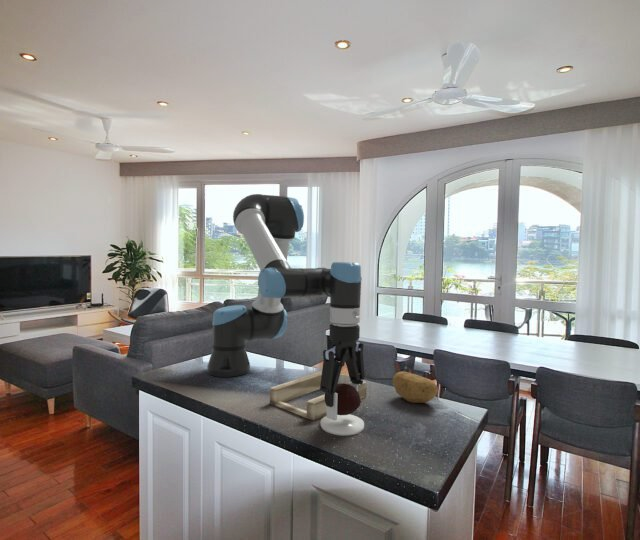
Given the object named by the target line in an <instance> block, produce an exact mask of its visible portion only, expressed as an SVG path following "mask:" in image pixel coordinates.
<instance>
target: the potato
mask: <svg viewBox="0 0 640 540" xmlns="http://www.w3.org/2000/svg"><path fill="white" fill-rule="evenodd" d="M392 377H393V378H392V385H393V387H394V388H395V392H396V393H397V394H398V396H400V397H401V398H403V399H404V400H405V401H407V402H409V403H411V404H413V403H414V404H415V403H417V404H418V403H422V404H423V403H424V404H426V403H428V402H429V401H431V400H433V399H435V397H437V395H438V393H439V387H438V385H437V384H436V383H435V382H434V381H433V380H431V379H429V378H427V377H425V376H421V375H419V374H416V373H412V372H408V371H398V372H397V373H395V374H394V375H393V376H392Z"/></svg>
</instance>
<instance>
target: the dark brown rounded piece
mask: <svg viewBox="0 0 640 540" xmlns="http://www.w3.org/2000/svg"><path fill="white" fill-rule="evenodd" d="M331 388H332V387H331ZM335 393H338V400H337V415H348V414H350V415H352V414H353V413H355V412H356V411H358V410H359V408H360V407H361V403H362V399H360V396H359V393H358V391H357V390H356V389H355V388H354V387H352V386H351V385H349V384H348V383H344V382H343V383H338V384H337V388H336V391H335ZM324 394H325V396H324V397H325V403H326V393H325V392H324ZM357 409H358V410H357Z"/></svg>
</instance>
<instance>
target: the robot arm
mask: <svg viewBox="0 0 640 540" xmlns="http://www.w3.org/2000/svg"><path fill="white" fill-rule="evenodd" d="M232 213H233V215H232V219H233V220H232V221H233V224H234V227H235V229H236V230H237V232H238V233H239V234H240V235H243V238H244V240H245V241H246V244H247V246H248V248H249V251H250V252H251V254H252V256H253V258H254V260H255V262H256V264H257V267H258V268H259V270H260V271H259V273H258V276H257V287H258V292H257V296H256V297H257V298H256V299H255V300H253V302H252V304H251V308H247V307H246V306H245V305H243V304H239V305H238V304H236V305H227V306H224V307H220V308H219V307H218V308H217V309H216V310H215V311H214V312H213V315H212V323H211V324H212V351H211V354H210V357H209V360H208V364H207V367H206V368H207V369H206V371H207V374H208V375H211V376H213V377H219V378H232V377H238V376H240V377H241V376H243V375H247V374H248V373H249V372H250V371H251V363H250V360H249V356H248V353H247V350H246V342H248V341H251V342H252V341H259V340H273V339H277V338H280V337H282V336H283V335H284V334H285V331H286V330H287V325H288V319H287V318H288V313H287V311H286V309H285V308H284V305H283V304H282V302H281V299H284V298H285V299H287V298H304V297H305V298H310V297H312V298H313V297H326V298H327V297H328V298H329V299H330V302H329V303H330V304H329V322H330V323H331V324H330V325H329V335H328V336H329V339H330V340H331V342H332V344H331V348H330V349H328V350H327V349H323V351H322V357H323V362H322V369H321V371H322V376H321V384H320V389H319V391H320V392H323V393H324V394H325V393H326V406H327V415H326V416H327V418H329V419H332V420H337V400H338V393H335V391H336V388H337V384H339V380H340V376H341V372H342V369H343V367H344V366H345V365H346V368H347V372H348V376H349V381H350V382H348V383H347V384H349V385H351V386H352V387H354V388H355V389H356V390H357V391H358V393H359V384H361V385H362V384H363V381H364V380H365V377H366V376H365V365H364V353H363V351H364V345H365V344H364V343H363V342H357V341H359V340H360V334H361V333H360V332H361V330H360V329H361V328H360V325H359V323H360V321H361V317H360V316H361V294H362V292H361V291H362V269H361V264H360V263H359V262H355V261H354V262H351V261H350V262H349V261H333V262H332V263H331V266H330V268H327V267H315V268H311V267H310V268H309V267H308V268H306V267H305V268H303V267H301V268H300V267H298V268H297V267H296V268H295V267H291V265H290V264H289V262H288V253H289V246H290V243H291V241H292V240H294V239H295V237H296V233H299V232H300V231H301V230H302V229H303V227H304V223H305V220H304V219H305V215H304V209H303V205H302V203H301V202H300V200H298V199H297V198H295V197H289V196H285V195H284V196H283V195H270V194H263V193H262V194H261V193H254V194H250V195H247V196H245V197H243V198H242V199H240V201H239V202H238V203H237V204H236V206H235V207H234V210H233V212H232ZM331 387H332V388H331ZM358 410H359V408H358V409H357V410H356V411H358Z"/></svg>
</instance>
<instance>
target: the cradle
mask: <svg viewBox="0 0 640 540" xmlns="http://www.w3.org/2000/svg"><path fill="white" fill-rule="evenodd" d="M321 376H322V370H320V371H317V372H314V373H312V374H309V375H305V376H302V377H300V378H297V379H294V380H290V381H288V382H287V381H286V382H284V383H281V384H278V385H274V386H272V387H269V404H270V405H273V406H275V407H278V408H280V409H283V410H286V411H288V412H291V413H293V414H296V415H297V416H301V417H303V418H305V419H308V420H310V421H313V422H315V421H317V420H319V419H322V418H323V417H325V416H327V406H326V403H325V397H324V396H325V393H324V394H322V395H319V396H317V397H314V398H311V399H309V400H306V410H305V409H303V408H300V407H297V406H295V405H292V404H289V403H286V402H289V401H291V400H295V399H297V398H300V397H302V396H305V395H308V394H311V393H313V392H316V391H318V390H319V391H320V384H321ZM362 381H363V384H362V385H361V384H359V396H360V399H361V400H363V399H364V398H367V392H368V391H367V389H368V388H367V387H368V385H367V383H368V382H367V381H364V380H362Z"/></svg>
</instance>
